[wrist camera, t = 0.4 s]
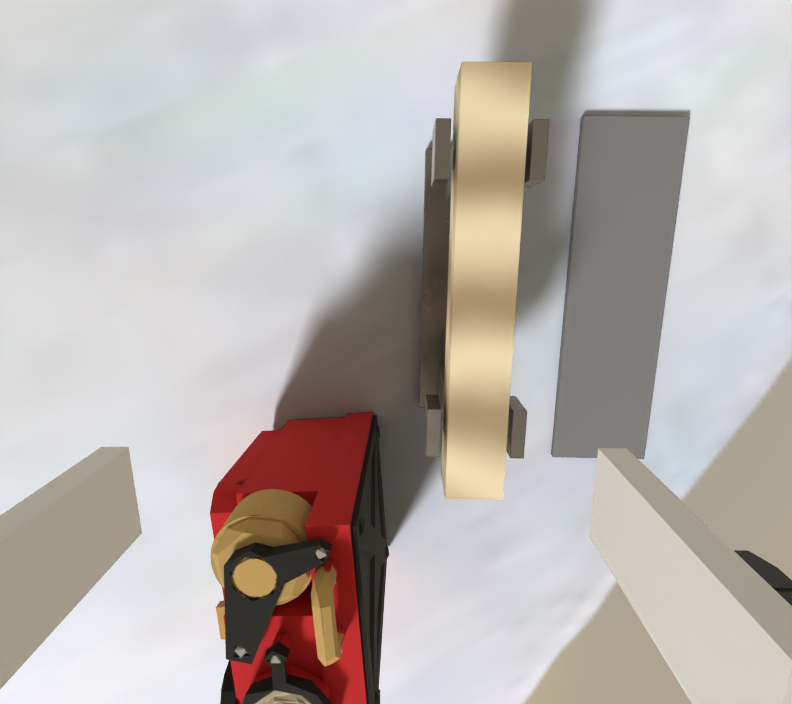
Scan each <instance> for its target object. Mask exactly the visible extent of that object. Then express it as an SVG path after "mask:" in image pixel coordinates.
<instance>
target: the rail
mask: <svg viewBox="0 0 792 704" xmlns="http://www.w3.org/2000/svg"><path fill="white" fill-rule="evenodd" d="M531 73H532V62H462V63H461V67H460V70H459V74H458V77H457V81H456V84H455V96H454V124H453V152H452V180H451V208H450V236H449V264H448V292H447V320H446V348H445V376H444V403H443V431H442V459H441V475H442V481H443V488H444V494H445V499H487V500H503V491H504V476H505V461H506V446H507V431H508V416H509V401H510V387H511V372H512V357H513V342H514V327H515V312H516V297H517V282H518V267H519V252H520V237H521V222H522V207H523V192H524V177H525V162H526V148H527V133H528V118H529V103H530V88H531Z"/></svg>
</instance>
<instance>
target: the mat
mask: <svg viewBox="0 0 792 704" xmlns="http://www.w3.org/2000/svg"><path fill="white" fill-rule="evenodd" d="M689 119H690V117H658V116H583V117H582V118H581V124H580V135H579V146H578V157H577V169H576V180H575V191H574V202H573V214H572V225H571V236H570V248H569V259H568V270H567V281H566V293H565V304H564V315H563V326H562V338H561V349H560V360H559V371H558V383H557V394H556V405H555V416H554V428H553V439H552V450H551V455H552V456H553V457H576V458H597V455H598V448H627V449H628V450H629V451H630V452H631V453H632V454H633V455H634V456H635V457H636V458H637V459H644V455H645V447H646V440H647V433H648V425H649V418H650V410H651V403H652V395H653V388H654V380H655V373H656V365H657V358H658V351H659V343H660V336H661V328H662V321H663V313H664V306H665V298H666V291H667V283H668V276H669V268H670V261H671V254H672V246H673V239H674V231H675V224H676V216H677V209H678V201H679V194H680V186H681V179H682V171H683V164H684V157H685V149H686V142H687V134H688V127H689Z"/></svg>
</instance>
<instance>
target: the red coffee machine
mask: <svg viewBox="0 0 792 704" xmlns="http://www.w3.org/2000/svg"><path fill="white" fill-rule="evenodd" d="M379 437H380V431H379V426H378V425H377V415H373V412H362V413H348V414H347V415H346V417H337V418H320V419H303V420H288V422H287V423H286V425H285V426H284V427H283V429H282V430H273V431H262V432H261V433H260V434H259V435H258V437H257V438H256V439H255V440H254V441H253V443H252V444H251V445H250V446H249V447H248V449H247V450H246V451H245V452H244V453H243V455H242V456H241V457H240V458H239V459H238V461H237V462H236V463H235V464H234V465H233V467H232V468H231V469H230V470H229V471H228V473H227V474H226V475H225V476H224V477H223V479H222V480H221V481H220V482H219V483H218V485H217V487H216V489H215V491H214V493H213V499H212V505H211V511H210V516H211V522H212V528H213V534H214V541H213V545H212V549H211V565H212V569H213V572H214V574H215V576H216V578H217V580H218V581H219V583H220V584H221V585H222V589H223V595H224V601H220V602H219V604H218V605H217V607H216V611H217V617H218V623H219V630H220V636H221V639H226V659H228V660H229V662H228V665H227V668H226V671H225V674H224V679H223V684H222V689H221V703H220V704H380V690H379V673H380V658H381V642H382V627H383V611H384V595H385V580H386V564H387V557H388V556H389V550H388V547H387V542H386V529H385V516H384V503H383V490H382V477H381V464H380V451H379Z"/></svg>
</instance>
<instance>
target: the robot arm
mask: <svg viewBox="0 0 792 704" xmlns="http://www.w3.org/2000/svg"><path fill="white" fill-rule="evenodd" d="M141 533H142V531H141V524H140V518H139V512H138V505H137V499H136V493H135V486H134V480H133V473H132V467H131V461H130V454H129V448H128V447H101V448H99V449H98V450H96V451H95V452H94V453H92V454H91V455H89V456H88V457H86V458H85V459H83V460H82V461H80V462H79V463H77V464H76V465H74V466H73V467H71V468H70V469H68V470H67V471H66V472H64V473H63V474H61V475H60V476H58V477H57V478H55V479H54V480H52V481H51V482H49V483H48V484H46V485H45V486H43V487H42V488H40V489H39V490H37V491H36V492H35V493H33V494H32V495H30V496H29V497H27V498H26V499H24V500H23V501H21V502H20V503H18V504H17V505H15V506H14V507H12V508H11V509H9V510H8V511H7V512H5V513H4V514H2V515H1V516H0V689H1V688H2V687H3V686H4V685H5V683H6V682H7V681H8V680H9V679H10V678H11V677H12V676H13V675H14V674H15V672H16V671H17V670H18V669H19V668H20V667H21V666H22V665H23V664H24V662H25V661H26V660H27V659H28V658H29V657H30V656H31V655H32V654H33V653H34V651H35V650H36V649H37V648H38V647H39V646H40V645H41V644H42V643H43V641H44V640H45V639H46V638H47V637H48V636H49V635H50V634H51V633H52V632H53V630H54V629H55V628H56V627H57V626H58V625H59V624H60V623H61V622H62V621H63V619H64V618H65V617H66V616H67V615H68V614H69V613H70V612H71V611H72V609H73V608H74V607H75V606H76V605H77V604H78V603H79V602H80V601H81V600H82V598H83V597H84V596H85V595H86V594H87V593H88V592H89V591H90V590H91V588H92V587H93V586H94V585H95V584H96V583H97V582H98V581H99V580H100V579H101V577H102V576H103V575H104V574H105V573H106V572H107V571H108V570H109V569H110V568H111V566H112V565H113V564H114V563H115V562H116V561H117V560H118V559H119V558H120V556H121V555H122V554H123V553H124V552H125V551H126V550H127V549H128V548H129V547H130V545H131V544H132V543H133V542H134V541H135V540H136V539H137V538H138V537H139V536H140V534H141ZM589 537H590V538H591V540H592V542H593V543H594V545H595V546H596V548H597V550H598V551H599V553H600V555H601V556H602V558H603V559H604V561H605V563H606V564H607V566H608V568H609V569H610V571H611V573H612V574H613V576H614V577H615V579H616V581H617V582H618V584H619V585H620V587H621V589H622V591H623V592H624V594H625V595H626V597H627V599H628V600H629V602H630V604H631V605H632V607H633V608H634V610H635V612H636V613H637V615H638V617H639V618H640V620H641V622H642V623H643V625H644V626H645V628H646V630H647V631H648V633H649V635H650V636H651V638H652V640H653V641H654V643H655V644H656V646H657V647H658V649H659V651H660V653H661V654H662V656H663V657H664V659H665V661H666V662H667V664H668V666H669V667H670V669H671V671H672V672H673V674H674V675H675V677H676V679H677V680H678V682H679V684H680V685H681V687H682V689H683V690H684V692H685V693H686V695H687V697H688V698H689V700H690V701H691V703H692V704H792V580H791V579H789V578H788V577H787V576H786V575H785V574H784V573H783V572H782V571H780V570H779V569H778V568H777V567H775V566H773V565H772V564H770V563H768V562H767V561H765V560H763V559H761V558H760V557H758V556H756V555H755V554H753V553H751V552H749V551H734V550H732V549H731V548H730V547H729V546H728V545H727V544H726V543H725V542H724V541H723V540H722V539H721V538H720V537H719V536H718V535H717V534H716V533H715V532H714V531H713V530H712V529H710V528H709V527H708V526H707V525H706V524H705V523H704V522H703V521H702V520H701V519H700V518H699V517H698V516H697V515H696V514H695V513H694V512H693V511H692V510H691V509H689V508H688V507H687V506H686V505H685V504H684V503H683V502H682V501H681V500H680V499H679V498H678V497H677V496H676V495H675V494H674V493H673V492H672V491H671V490H670V489H669V488H668V487H666V486H665V485H664V484H663V483H662V482H661V481H660V480H659V479H658V478H657V477H656V476H655V475H654V474H653V473H652V472H651V471H650V470H649V469H648V468H647V467H646V466H644V465H643V464H642V463H641V462H640V461H639V460H638V459H637V458H636V457H635V456H634V455H633V454H632V453H631V452H630V451H629V450H628V449H627V448H598V455H597V465H596V475H595V485H594V494H593V504H592V514H591V524H590V534H589Z"/></svg>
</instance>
